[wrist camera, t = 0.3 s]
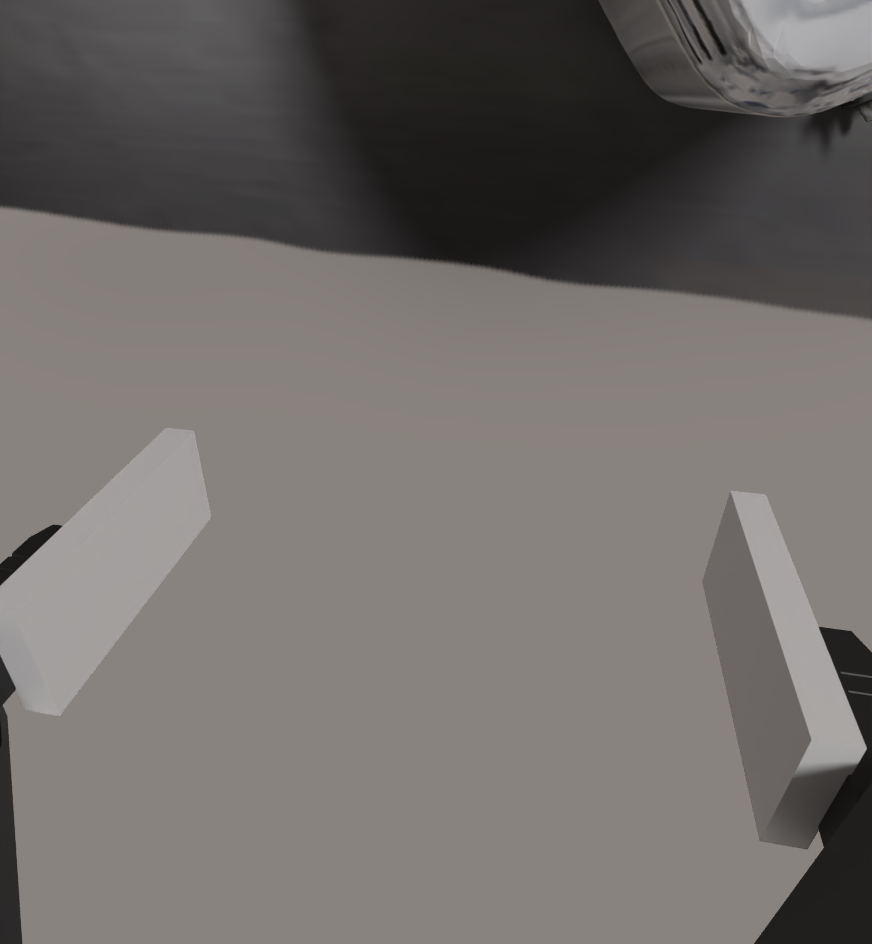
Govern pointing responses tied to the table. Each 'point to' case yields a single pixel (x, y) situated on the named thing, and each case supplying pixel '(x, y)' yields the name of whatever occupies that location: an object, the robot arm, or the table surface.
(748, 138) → the table surface
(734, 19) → the toaster
